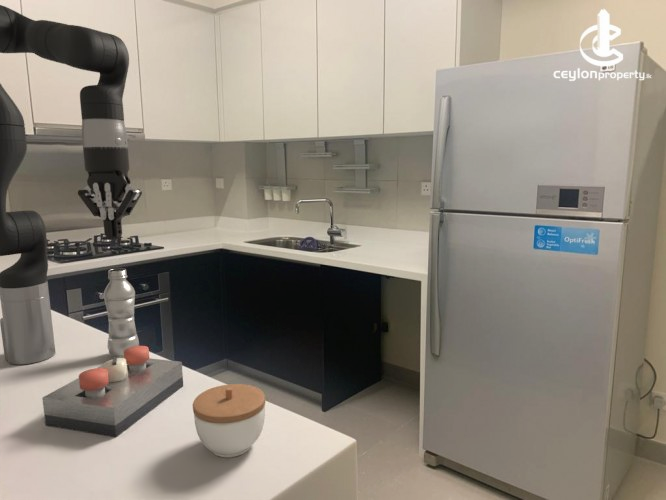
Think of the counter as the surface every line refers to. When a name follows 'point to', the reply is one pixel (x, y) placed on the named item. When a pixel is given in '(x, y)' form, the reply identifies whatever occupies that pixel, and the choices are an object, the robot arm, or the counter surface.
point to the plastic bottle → (120, 313)
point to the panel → (113, 400)
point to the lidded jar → (229, 418)
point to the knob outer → (94, 382)
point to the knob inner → (136, 357)
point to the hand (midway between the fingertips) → (113, 239)
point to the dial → (116, 369)
